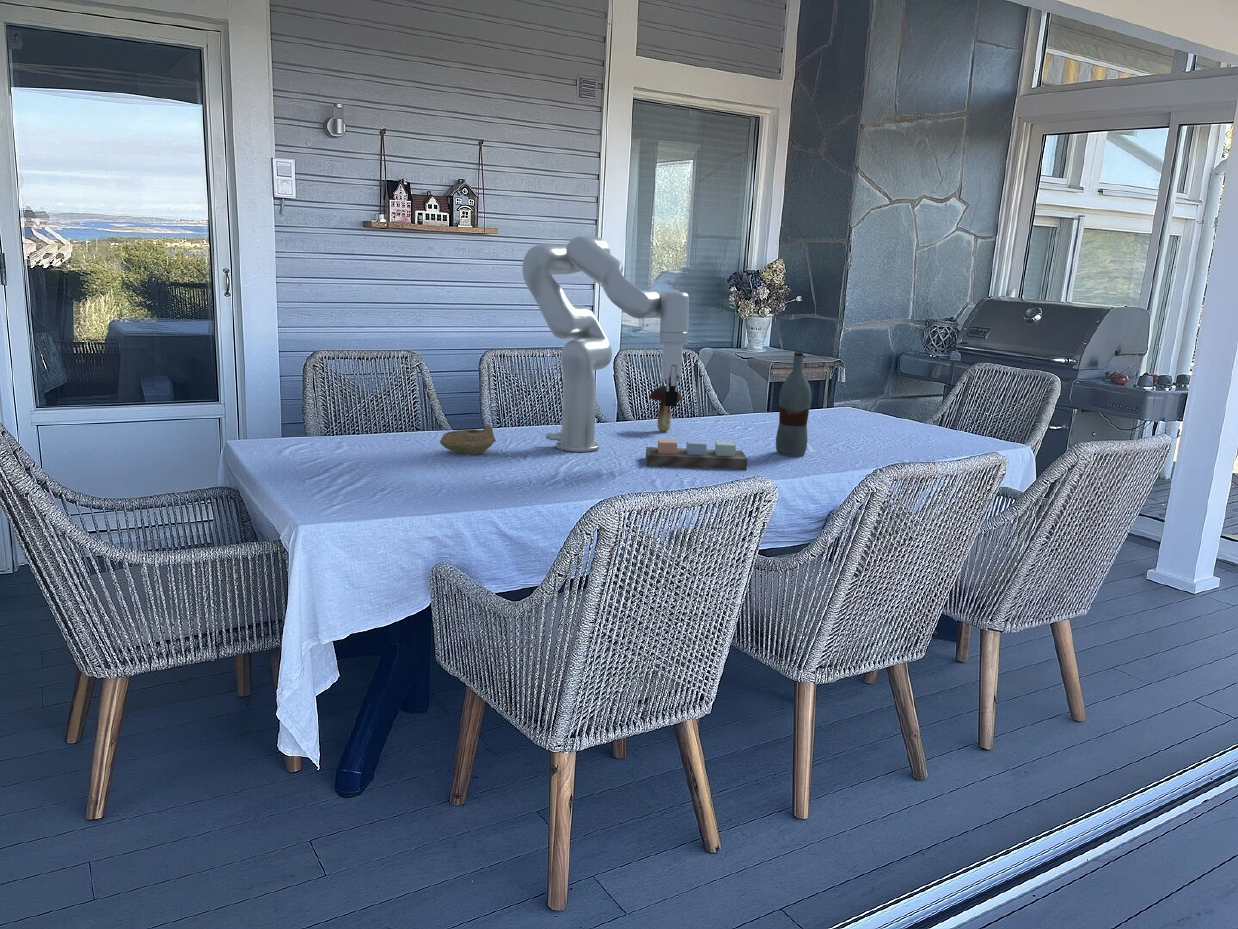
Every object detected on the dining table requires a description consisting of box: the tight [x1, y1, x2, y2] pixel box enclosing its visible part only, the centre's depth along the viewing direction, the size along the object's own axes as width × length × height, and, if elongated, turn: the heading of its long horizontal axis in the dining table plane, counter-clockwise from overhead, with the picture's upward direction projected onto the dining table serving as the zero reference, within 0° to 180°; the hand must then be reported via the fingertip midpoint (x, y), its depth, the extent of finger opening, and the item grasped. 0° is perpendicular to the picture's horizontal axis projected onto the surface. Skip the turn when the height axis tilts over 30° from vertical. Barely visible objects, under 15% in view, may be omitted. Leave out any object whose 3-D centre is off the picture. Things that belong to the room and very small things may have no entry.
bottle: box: [775, 351, 812, 457], centre depth 283 cm, size 9×9×30 cm
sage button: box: [714, 440, 737, 456], centre depth 266 cm, size 5×5×4 cm
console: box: [645, 446, 748, 471], centre depth 267 cm, size 27×11×3 cm, turn 91°
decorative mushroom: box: [648, 385, 684, 433], centre depth 311 cm, size 11×11×15 cm
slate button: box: [685, 439, 707, 455], centre depth 266 cm, size 5×5×4 cm
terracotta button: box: [657, 438, 678, 454], centre depth 266 cm, size 5×5×4 cm
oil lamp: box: [439, 424, 497, 456], centre depth 267 cm, size 11×15×8 cm
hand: (670, 405), depth 263 cm, fingers closed
